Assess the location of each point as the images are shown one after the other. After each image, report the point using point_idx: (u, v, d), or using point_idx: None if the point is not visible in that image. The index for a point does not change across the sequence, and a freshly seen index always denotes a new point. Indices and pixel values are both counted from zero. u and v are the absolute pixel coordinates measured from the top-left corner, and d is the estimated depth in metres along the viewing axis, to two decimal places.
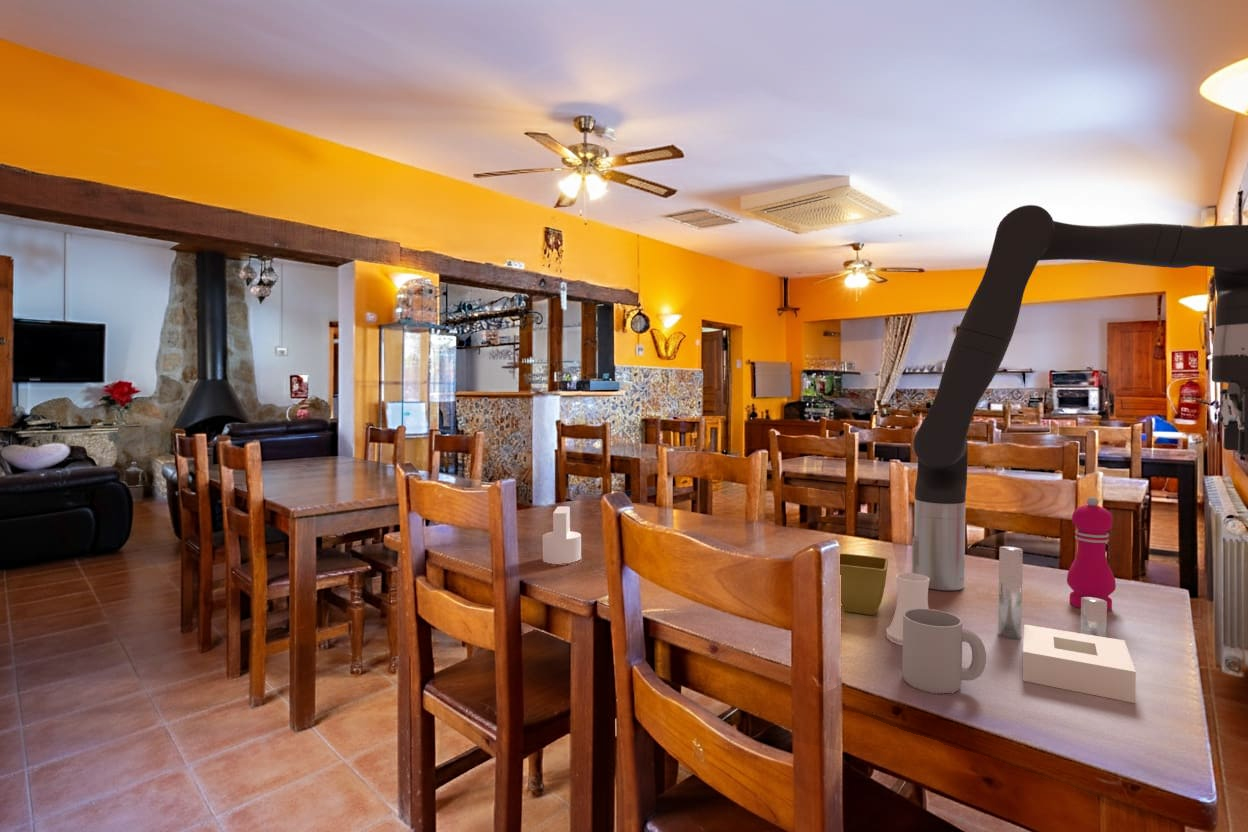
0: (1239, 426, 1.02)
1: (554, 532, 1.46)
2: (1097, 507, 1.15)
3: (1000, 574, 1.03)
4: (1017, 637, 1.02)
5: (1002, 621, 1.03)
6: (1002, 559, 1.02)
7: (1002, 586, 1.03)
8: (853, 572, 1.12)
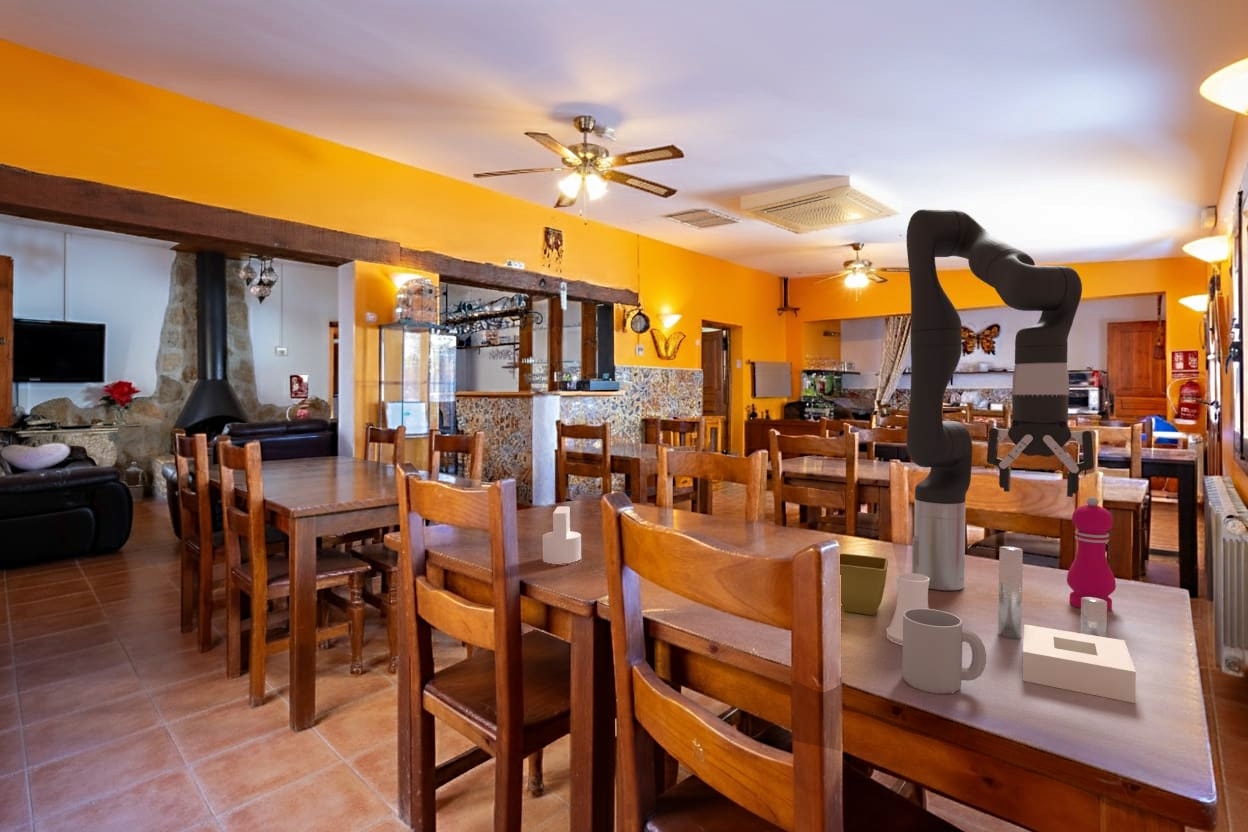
0: (1076, 469, 0.99)
1: (554, 532, 1.46)
2: (1097, 507, 1.15)
3: (1000, 574, 1.03)
4: (1017, 637, 1.02)
5: (1002, 621, 1.03)
6: (1003, 559, 1.02)
7: (1002, 586, 1.03)
8: (853, 572, 1.12)
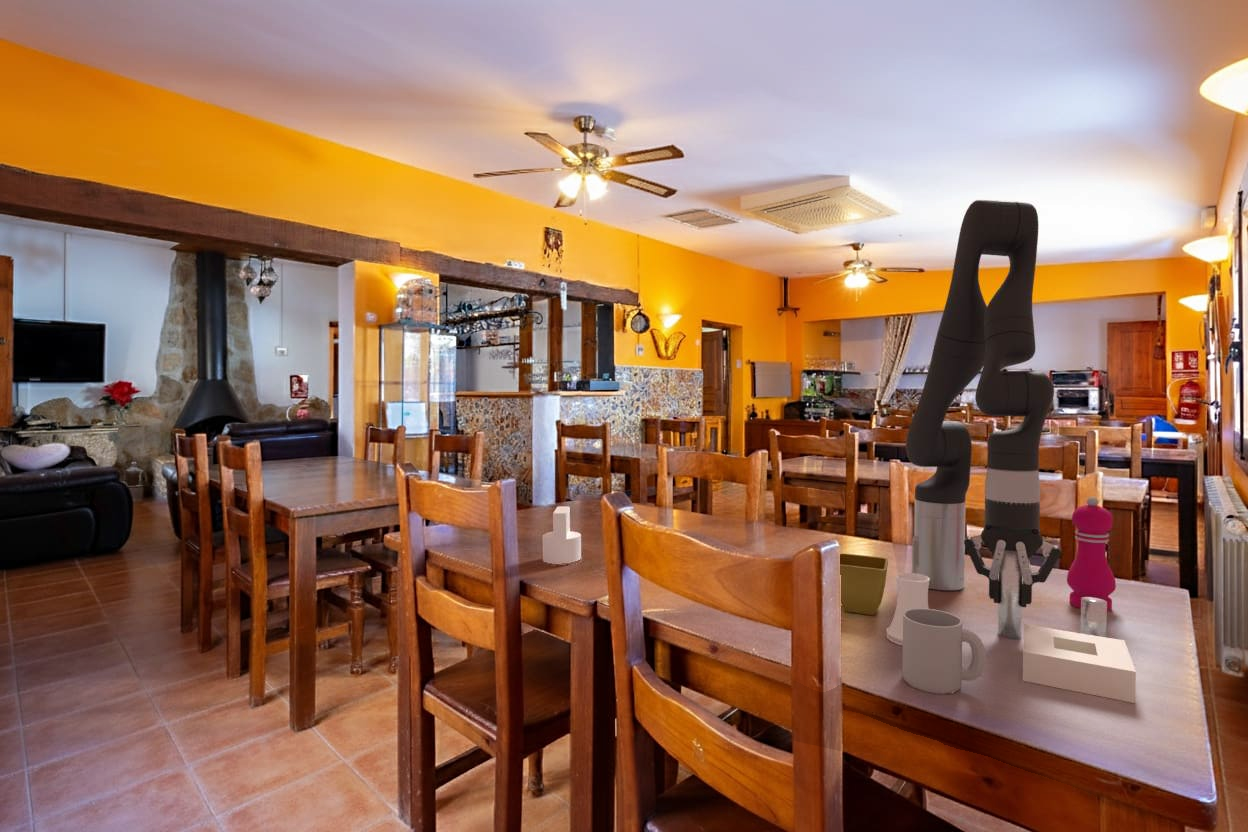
0: (1029, 581, 1.01)
1: (554, 532, 1.46)
2: (1097, 507, 1.15)
3: (1000, 574, 1.03)
4: (1017, 637, 1.02)
5: (1002, 621, 1.03)
6: (1002, 559, 1.02)
7: (1002, 586, 1.03)
8: (853, 572, 1.12)
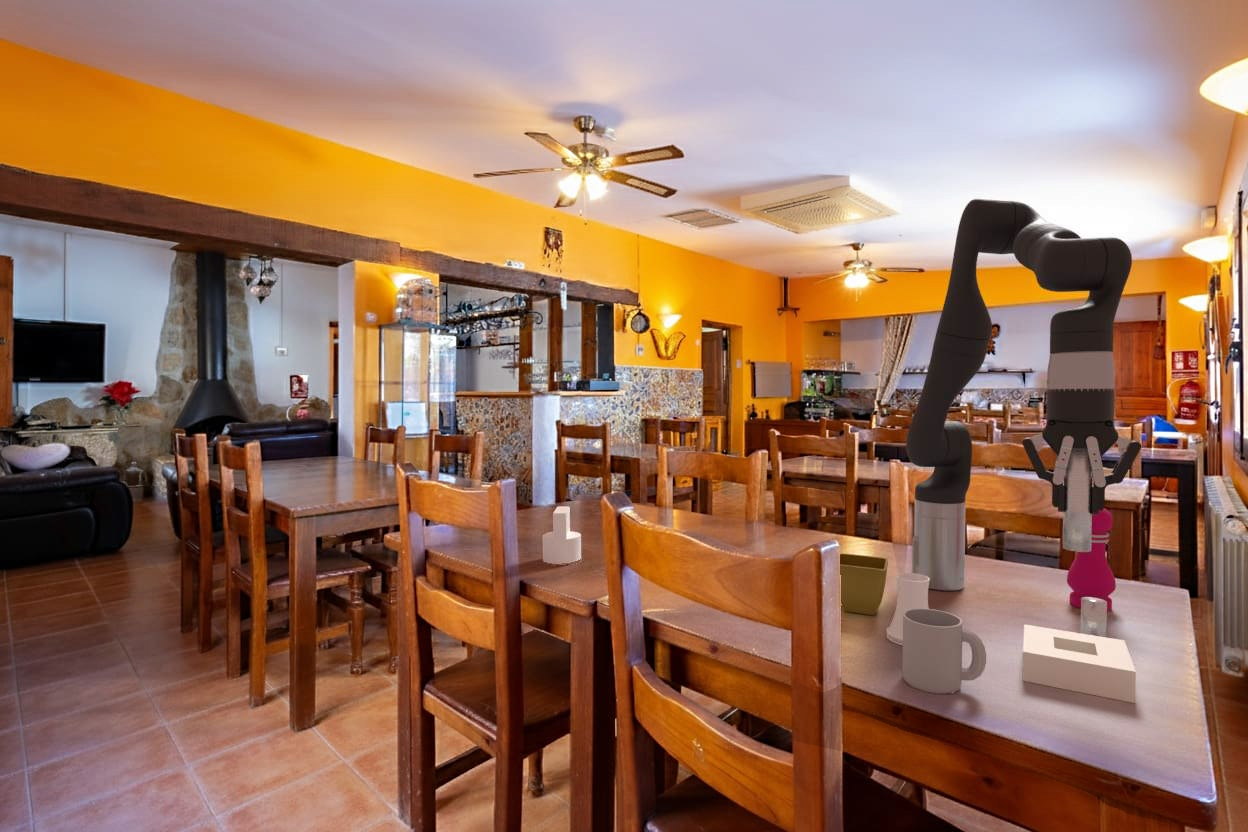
0: (1102, 483, 0.86)
1: (554, 532, 1.46)
2: None
3: (1066, 477, 0.88)
4: (1087, 550, 0.87)
5: (1068, 532, 0.88)
6: (1069, 459, 0.87)
7: (1068, 490, 0.88)
8: (853, 572, 1.12)
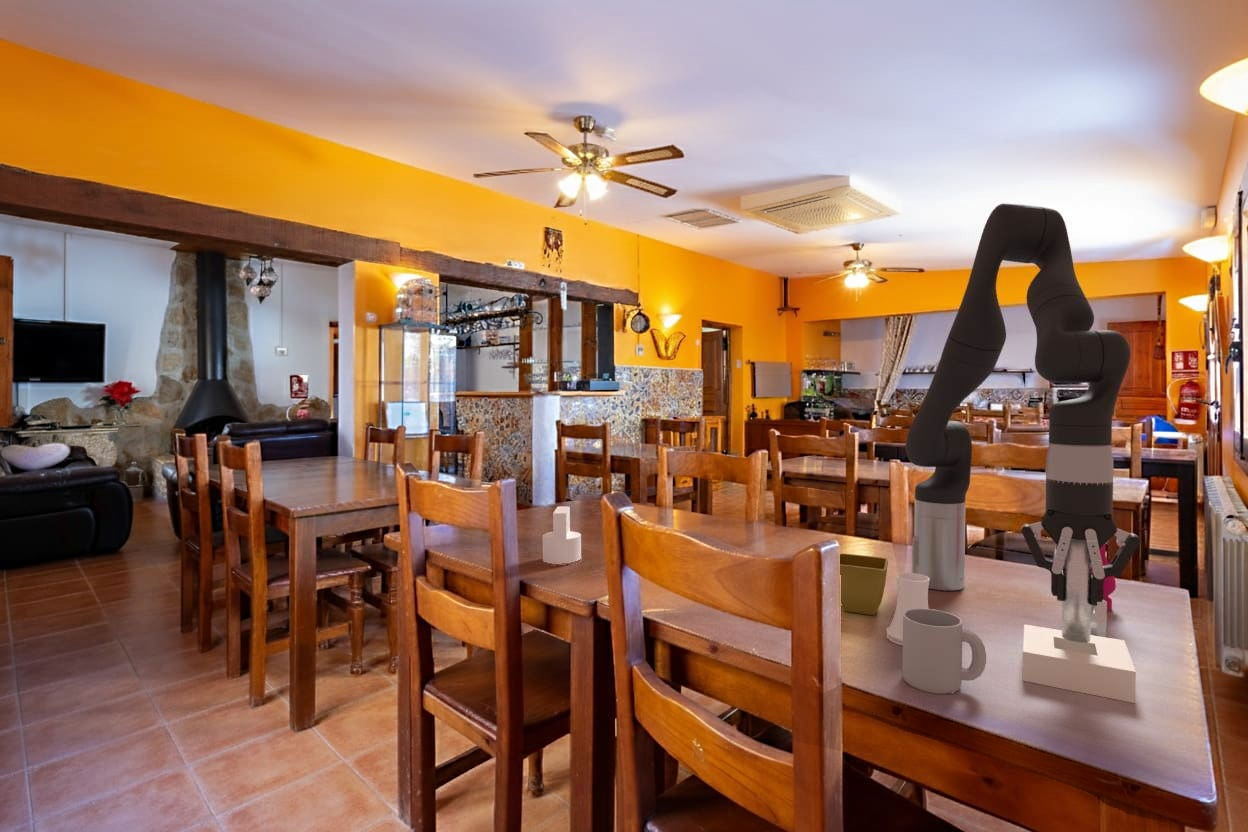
0: (1101, 575, 0.86)
1: (554, 532, 1.46)
2: None
3: (1065, 567, 0.88)
4: (1086, 640, 0.87)
5: (1067, 622, 0.88)
6: (1068, 550, 0.88)
7: (1067, 580, 0.88)
8: (853, 572, 1.12)
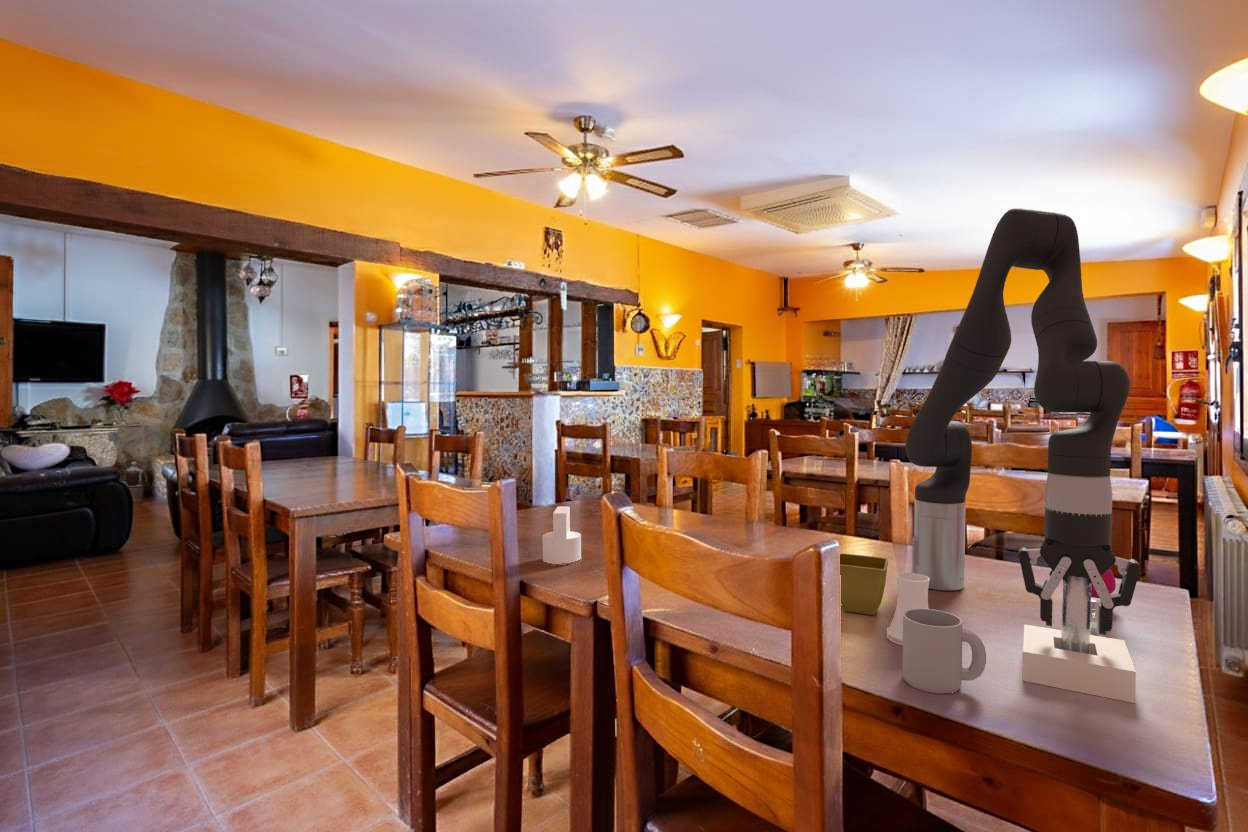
0: (1110, 604, 0.85)
1: (554, 532, 1.46)
2: None
3: (1064, 603, 0.89)
4: None
5: None
6: (1068, 587, 0.88)
7: (1067, 617, 0.88)
8: (853, 572, 1.12)
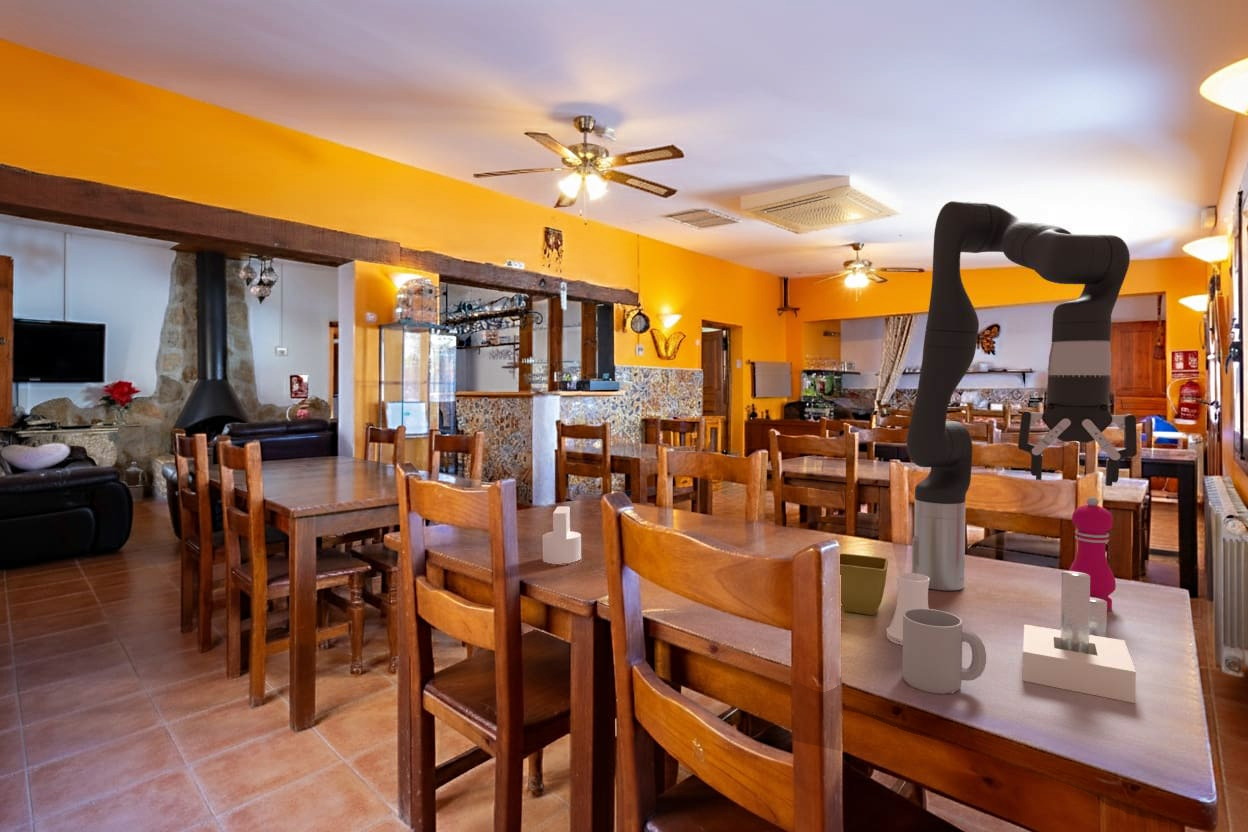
0: (1117, 456, 0.91)
1: (554, 532, 1.46)
2: (1097, 507, 1.15)
3: (1063, 604, 0.89)
4: None
5: None
6: (1066, 587, 0.88)
7: (1066, 617, 0.88)
8: (853, 572, 1.12)
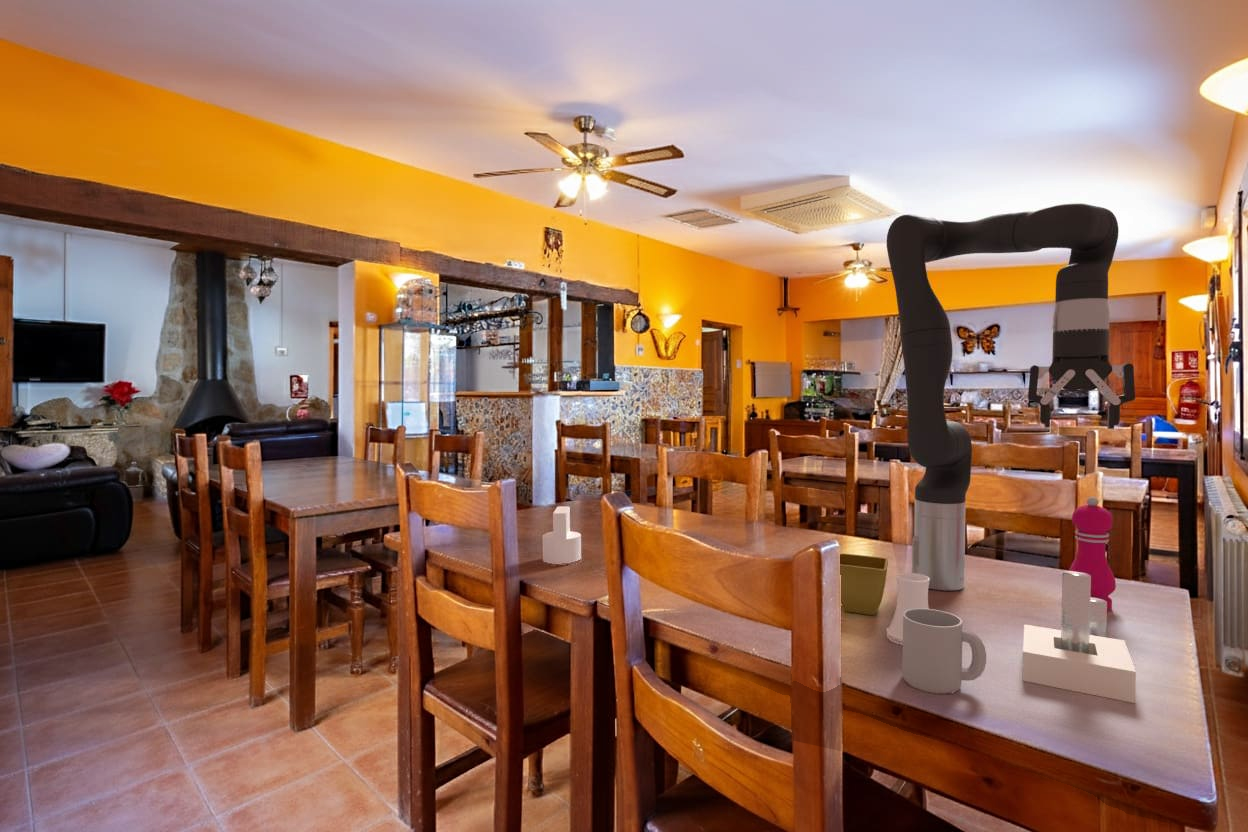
0: (1117, 401, 1.02)
1: (554, 532, 1.46)
2: (1097, 507, 1.15)
3: (1064, 603, 0.89)
4: None
5: None
6: (1067, 587, 0.88)
7: (1066, 617, 0.88)
8: (853, 572, 1.12)
